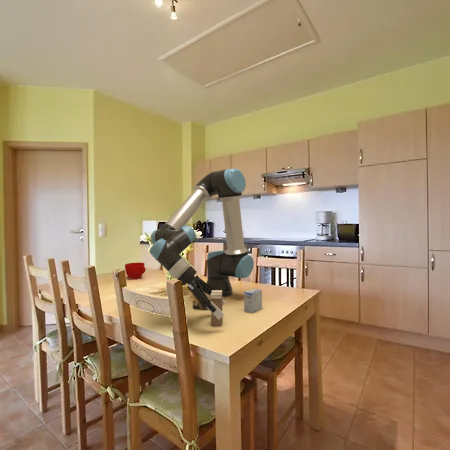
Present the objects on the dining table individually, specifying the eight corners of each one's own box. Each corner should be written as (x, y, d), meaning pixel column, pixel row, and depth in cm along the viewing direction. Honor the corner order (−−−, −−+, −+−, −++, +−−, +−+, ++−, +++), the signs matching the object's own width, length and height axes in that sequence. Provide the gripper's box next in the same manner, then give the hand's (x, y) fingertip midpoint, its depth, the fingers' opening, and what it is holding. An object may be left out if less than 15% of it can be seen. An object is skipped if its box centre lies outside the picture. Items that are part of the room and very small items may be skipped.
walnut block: (212, 320, 108) (212, 290, 108) (222, 320, 108) (222, 290, 108) (211, 326, 102) (210, 294, 102) (221, 326, 102) (221, 294, 102)
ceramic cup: (137, 281, 178) (137, 266, 178) (121, 279, 188) (120, 264, 187) (152, 278, 189) (152, 263, 189) (136, 275, 198) (136, 262, 198)
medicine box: (253, 306, 124) (253, 287, 124) (262, 308, 121) (262, 289, 121) (243, 311, 118) (243, 291, 118) (252, 313, 115) (252, 293, 115)
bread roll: (213, 317, 121) (220, 300, 122) (192, 310, 119) (200, 292, 119) (208, 310, 131) (215, 294, 132) (189, 303, 128) (195, 287, 129)
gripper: (182, 272, 118) (217, 306, 118) (168, 287, 93) (213, 330, 93) (194, 260, 117) (229, 294, 117) (183, 271, 93) (228, 315, 92)
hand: (222, 310), depth 105 cm, fingers open, 13 cm apart
